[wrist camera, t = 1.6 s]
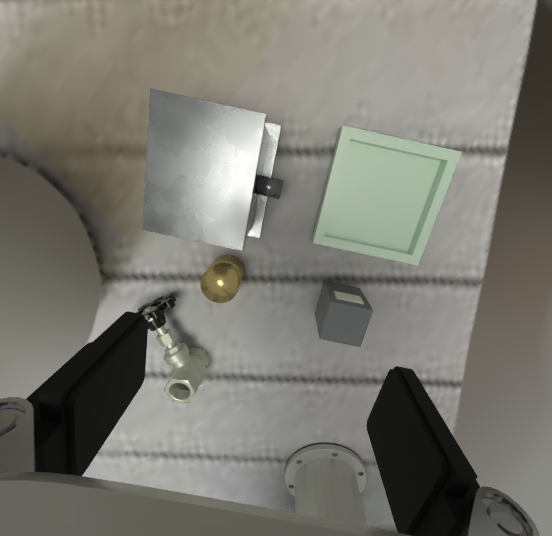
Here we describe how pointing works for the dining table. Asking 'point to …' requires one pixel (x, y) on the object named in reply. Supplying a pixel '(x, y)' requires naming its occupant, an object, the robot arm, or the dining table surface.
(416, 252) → the tray
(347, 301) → the block
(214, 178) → the box
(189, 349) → the valve
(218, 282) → the cylinder
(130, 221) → the dining table surface
